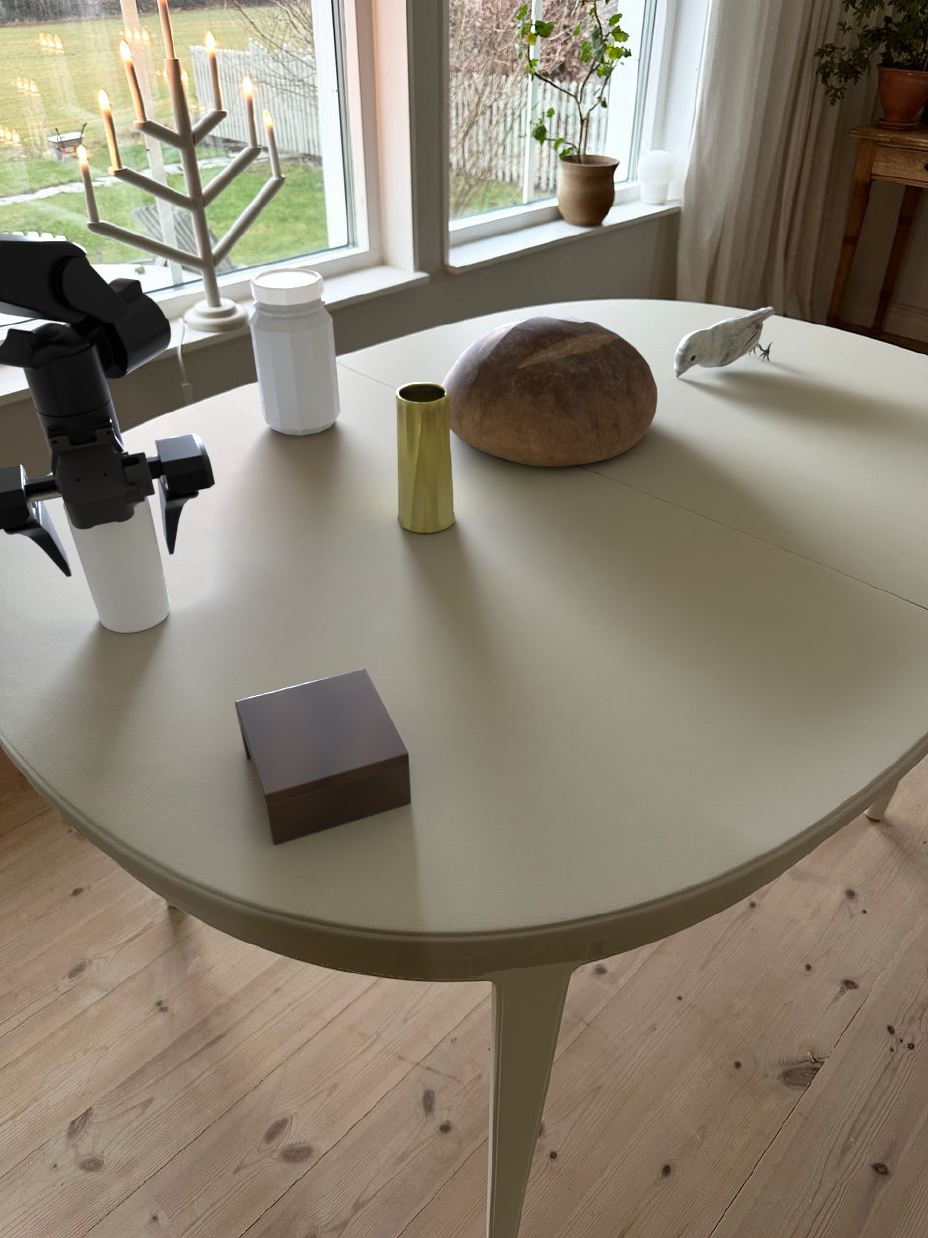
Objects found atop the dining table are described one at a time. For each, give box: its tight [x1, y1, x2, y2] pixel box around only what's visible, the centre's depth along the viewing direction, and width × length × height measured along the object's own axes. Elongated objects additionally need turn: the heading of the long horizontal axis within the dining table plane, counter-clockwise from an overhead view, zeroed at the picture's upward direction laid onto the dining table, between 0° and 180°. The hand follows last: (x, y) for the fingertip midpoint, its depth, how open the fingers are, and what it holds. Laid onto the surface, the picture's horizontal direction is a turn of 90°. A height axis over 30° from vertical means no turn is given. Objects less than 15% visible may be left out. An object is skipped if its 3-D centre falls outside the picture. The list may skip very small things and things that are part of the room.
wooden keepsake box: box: [234, 667, 412, 846], centre depth 67 cm, size 10×10×5 cm
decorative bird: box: [673, 306, 776, 378], centre depth 130 cm, size 5×16×8 cm, turn 118°
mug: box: [62, 496, 171, 634], centre depth 82 cm, size 10×7×12 cm, turn 38°
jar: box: [249, 267, 341, 437], centre depth 112 cm, size 10×10×18 cm
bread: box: [441, 316, 658, 468], centre depth 113 cm, size 26×27×13 cm
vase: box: [395, 381, 456, 534], centre depth 94 cm, size 6×6×14 cm
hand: (120, 563), depth 83 cm, fingers closed on mug, 8 cm apart
